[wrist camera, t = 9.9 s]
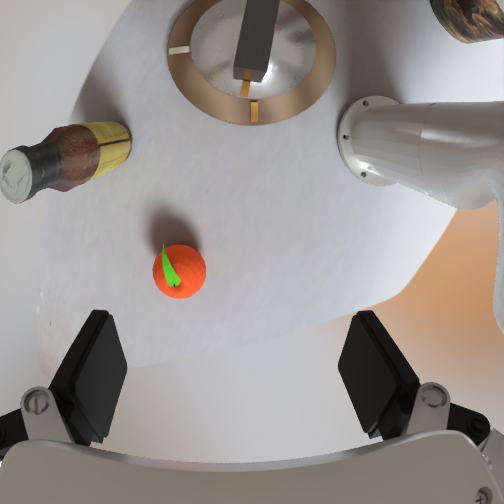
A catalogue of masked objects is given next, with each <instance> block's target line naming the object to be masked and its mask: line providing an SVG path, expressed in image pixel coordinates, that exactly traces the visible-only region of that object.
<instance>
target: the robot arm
mask: <svg viewBox="0 0 504 504" xmlns="http://www.w3.org/2000/svg"><path fill="white" fill-rule="evenodd" d="M363 103H364V105H363ZM343 135H345V138H343ZM338 145H339V150H340V153H341V157H342V159H343V161H344V163H345V165H346V166H347V167H348V169H349V170H350V171H351V172H352V173H353V174H354V175H355V176H356V177H357V178H359V179H360V180H362V181H363V182H366V183H368V184H371V185H374V186H383V187H384V186H390V185H393V184H396V183H399V184H402V185H404V186H406V187H409V188H411V189H414V190H416V191H418V192H421V193H423V194H425V195H428V196H430V197H432V198H434V199H437V200H439V201H441V202H443V203H446V204H448V205H450V206H452V207H455V208H458V209H463V210H475V209H478V208H481V207H484V206H486V205H487V204H489V203H491V202H492V201H494V200H495V199H496V201H497V204H498V209H499V247H498V259H497V267H496V275H495V284H494V295H493V307H494V314H495V318H496V321H497V324H498V326H499V327H500V329H501V331H502V332H503V334H504V101H493V102H435V103H412V104H399V103H398V102H397V101H395V100H393V99H391V98H388V97H385V96H379V95H373V96H367V97H363V98H361V99H359V100H357V101H355V102H354V103H353V104H351V105H350V106H349V107H348V109H347V110H346V111H345V113H344V114H343V116H342V119H341V121H340V125H339V129H338ZM361 172H362V175H361ZM338 370H339V372H340V375H341V377H342V379H343V382H344V384H345V387H346V389H347V392H348V394H349V397H350V399H351V401H352V404H353V406H354V409H355V411H356V414H357V416H358V419H359V421H360V424H361V426H362V429H363V431H364V432H365V433H368V435H369V438H370V439H371V438H375V437H378V436H382V439H383V441H382V442H378V443H374V444H371V445H367V446H362V447H359V448H354V449H350V450H345V451H341V452H335V453H330V454H324V455H319V456H313V457H306V458H298V459H290V460H281V461H269V462H253V463H198V462H181V461H170V460H160V459H152V458H145V457H138V456H132V455H127V454H121V453H115V452H110V451H105V450H101V449H96V448H92V447H89V446H90V444H91V441H93V442H97V443H101V444H102V442H103V438H104V437H107V436H108V433H109V429H110V426H111V422H112V419H113V415H114V412H115V408H116V405H117V402H118V398H119V395H120V392H121V388H122V385H123V382H124V379H125V376H126V373H127V362H126V359H125V356H124V353H123V350H122V347H121V343H120V340H119V337H118V333H117V330H116V326H115V322H114V319H113V316H112V315H109V313H108V311H106V310H93V311H92V312H91V314H90V315H89V317H88V318H87V320H86V322H85V323H84V325H83V327H82V328H81V330H80V332H79V333H78V335H77V337H76V339H75V340H74V342H73V343H72V345H71V347H70V348H69V350H68V352H67V354H66V356H65V357H64V359H63V361H62V363H61V365H60V367H59V369H58V370H57V372H56V374H55V376H54V378H53V380H52V382H51V384H50V386H49V388H48V389H47V388H45V387H40V386H39V387H33V388H31V389H29V390H28V391H27V392H25V394H24V395H23V397H22V399H21V403H20V404H21V408H20V409H17V410H15V411H13V412H10V413H8V414H6V415H3V416H1V417H0V504H504V435H503V434H501V433H500V432H499V431H497V430H496V429H494V428H493V430H492V431H491V430H490V423H489V421H488V419H487V418H486V417H485V416H484V415H483V414H481V413H478V412H475V411H473V410H470V409H467V408H464V407H461V406H459V405H456V404H452V403H450V395H449V393H448V391H447V390H446V389H445V388H444V387H443V386H442V385H440V384H437V383H433V382H428V383H425V384H423V385H421V384H420V383H419V378H418V377H417V375H416V374H415V372H414V371H413V369H412V368H411V366H410V364H409V363H408V361H407V360H406V358H405V357H404V355H403V354H402V352H401V351H400V349H399V348H398V346H397V345H396V344H395V342H394V341H393V339H392V338H391V336H390V335H389V333H388V332H387V330H386V329H385V327H384V326H383V325H382V323H381V322H380V321H379V319H378V318H377V316H376V315H375V313H374V312H373V311H371V310H368V311H358V312H357V314H356V315H354V316H353V318H352V321H351V324H350V328H349V331H348V334H347V338H346V341H345V344H344V347H343V350H342V353H341V356H340V359H339V362H338Z"/></svg>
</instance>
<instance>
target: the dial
mask: <svg viewBox="0 0 504 504" xmlns="http://www.w3.org/2000/svg"><path fill="white" fill-rule="evenodd" d="M190 50H191V56H192V59H193V62H194V64H195V66H196V68H197V70H198V72H199V73H200V74H201V76H202V77H203V78H204V79H205V80H206V81H207V82H208V83H209V84H210V85H211V86H212V87H214V88H215V89H217V90H218V91H220V92H222V93H224V94H227V95H229V96H232V97H235V98H240V99H248V100H261V99H268V98H272V97H276V96H278V95H281V94H283V93H285V92H287V91H289V90H291V89H292V88H293V87H295V86H296V85H298V84H299V83H300V82H301V81H302V80H303V79H304V78H305V77H306V76H307V74H308V73H309V71H310V70H311V68H312V66H313V63H314V60H315V56H316V41H315V37H314V33H313V31H312V28H311V27H310V25H309V23H308V22H307V20H306V19H305V18H304V17H303V16H302V15H301V14H300V13H299V12H298V11H297V10H296V9H294V8H293V7H292V6H290V5H288V4H287V3H285V2H283V1H280V0H223V1H221V2H219V3H217V4H216V5H214V6H213V7H211V8H210V9H209V10H207V11H206V12H205V13H204V14H203V15H202V16H201V18H200V19H199V20H198V22H197V23H196V25H195V27H194V29H193V33H192V36H191V42H190Z"/></svg>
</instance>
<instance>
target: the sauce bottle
mask: <svg viewBox="0 0 504 504" xmlns="http://www.w3.org/2000/svg"><path fill="white" fill-rule="evenodd" d="M131 149H132V136H131V133H130V131H129V130H128V129H127V128H126V127H125V126H124V125H123V124H121V123H117V122H113V121H105V122H90V123H81V124H72V125H69V126H64V127H59V128H55V129H54V130H53V131H52V132H51V133H50V134H49V135H48V136H47V137H46V138H45V139H44V140H43V141H42V142H41V143H39V144H36V145H34V146H30V147H27V146H19V147H16V148H14V149H12V150H9V151H8V152H7V153H6V154H5V155H4V156H3V158H2V160H1V163H0V189H1V192H2V193H3V195H4V196H5V197H6V198H7V199H8V200H9V201H10V202H13V203H22V202H24V201H26V200H28V199H30V198H32V197H33V196H34V195H35V194H36V192H38V191H40V190H42V189H46V188H52V189H56V190H58V191H62V192H66V191H69V190H70V189H72V188H74V187H76V186H78V185H81V184H84V183H86V182H87V181H89V180H91V179H93V178H95V177H97V176H99V175H101V174H103V173H105V172H108V171H110V170H112V169H114V168H116V167H118V166H120V165H121V164H122V163H123V162H124V161H125V159H127V158H128V156H129V155H130V152H131Z"/></svg>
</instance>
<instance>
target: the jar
mask: <svg viewBox="0 0 504 504" xmlns="http://www.w3.org/2000/svg"><path fill="white" fill-rule="evenodd" d="M431 5H432V8H433V11H434V13H435V15H436V17H437V18H438V20H439V21H440V23H441V24H442V26H443V27H444V28H445V29H446V30H447V31H448V32H449V33H450V34H451V35H452V36H453V37H454V38H456V39H457V40H459V41H461V42H464V43H475V42H481V41H487V40H494V39H501V38H504V0H431Z"/></svg>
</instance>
